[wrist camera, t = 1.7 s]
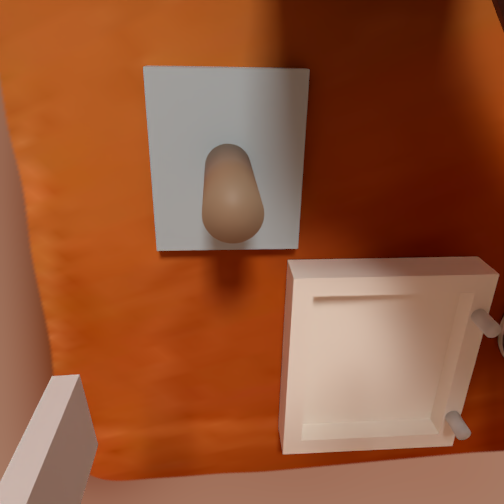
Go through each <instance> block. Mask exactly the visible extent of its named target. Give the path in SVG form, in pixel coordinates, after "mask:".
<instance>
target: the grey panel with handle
mask: <svg viewBox="0 0 504 504" xmlns="http://www.w3.org/2000/svg"><path fill="white" fill-rule="evenodd" d="M143 74H144V87H145V100H146V113H147V126H148V140H149V153H150V166H151V179H152V192H153V205H154V218H155V232H156V245H157V251H180V250H247V249H298V241H299V225H300V210H301V195H302V180H303V165H304V150H305V135H306V120H307V105H308V90H309V75H310V69H307V68H269V67H202V66H144V67H143Z"/></svg>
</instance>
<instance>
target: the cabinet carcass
mask: <svg viewBox="0 0 504 504" xmlns="http://www.w3.org/2000/svg"><path fill="white" fill-rule="evenodd" d="M498 278H499V273H497V272H496V271H495V270H494V269H493V268H491V267H490V266H489V265H488V264H487V263H485V262H484V261H483V260H482V259H481V258H479V257H478V256H471V257H416V258H361V259H306V260H288V261H287V279H286V297H285V315H284V333H283V351H282V369H281V387H280V405H279V423H278V429H279V435H280V441H281V447H282V453H283V454H302V453H322V452H342V451H362V450H381V449H401V448H421V447H441V446H452V445H453V442H454V438H455V436H456V437H457V439H459V440H465V439H467V438H469V437H470V435H471V431H470V430H469V428H468V427H467V425H466V423H465V422H464V420H463V419H462V417H461V413H462V409H463V405H464V402H465V398H466V394H467V391H468V387H469V383H470V380H471V376H472V373H473V369H474V365H475V362H476V358H477V354H478V351H479V347H480V343H481V340H482V336H483V333H484V334H485V335H486V336H487V337H488V338H494V337H496V336H498V335H499V334H500V332H501V326H500V325H499V324H498V323H497V322H496V321H495V320H494V319H493V318H492V317H491V316H490V315H489V311H490V307H491V303H492V300H493V296H494V293H495V289H496V285H497V282H498Z"/></svg>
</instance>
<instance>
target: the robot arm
mask: <svg viewBox="0 0 504 504" xmlns="http://www.w3.org/2000/svg"><path fill="white" fill-rule="evenodd" d="M492 2H493V5H494V8H495V10H496V13H497V16H498V18H499V21H500V23H501V26H502V29H503V31H504V0H492ZM97 447H98V443H97V439H96V435H95V431H94V428H93V424H92V420H91V416H90V412H89V409H88V405H87V401H86V397H85V393H84V390H83V386H82V382H81V378H80V374H78V375H64V376H52V377H51V379H50V381H49V383H48V385H47V387H46V389H45V391H44V393H43V396H42V398H41V400H40V402H39V404H38V406H37V408H36V410H35V412H34V414H33V416H32V418H31V420H30V422H29V424H28V426H27V428H26V430H25V433H24V434H23V436H22V439H21V441H20V443H19V445H18V447H17V449H16V451H15V453H14V455H13V457H12V459H11V461H10V463H9V465H8V467H7V469H6V471H5V474H4V476H3V478H2V480H1V482H0V504H81V500H82V497H83V494H84V491H85V487H86V484H87V480H88V477H89V474H90V470H91V467H92V464H93V460H94V457H95V454H96V450H97Z"/></svg>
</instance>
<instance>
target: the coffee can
mask: <svg viewBox="0 0 504 504" xmlns="http://www.w3.org/2000/svg"><path fill="white" fill-rule="evenodd" d="M500 326H501V332H500V334H499V335H498V346H499V349H500V352H501V354H502V355H503V357H504V316H503V318H502V320H501V323H500Z"/></svg>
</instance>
